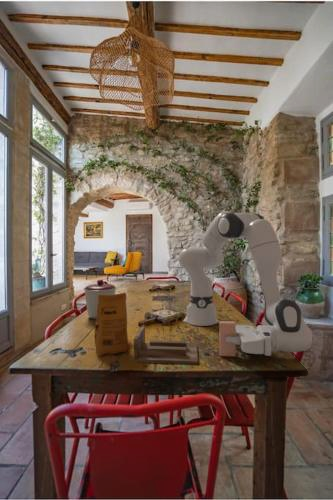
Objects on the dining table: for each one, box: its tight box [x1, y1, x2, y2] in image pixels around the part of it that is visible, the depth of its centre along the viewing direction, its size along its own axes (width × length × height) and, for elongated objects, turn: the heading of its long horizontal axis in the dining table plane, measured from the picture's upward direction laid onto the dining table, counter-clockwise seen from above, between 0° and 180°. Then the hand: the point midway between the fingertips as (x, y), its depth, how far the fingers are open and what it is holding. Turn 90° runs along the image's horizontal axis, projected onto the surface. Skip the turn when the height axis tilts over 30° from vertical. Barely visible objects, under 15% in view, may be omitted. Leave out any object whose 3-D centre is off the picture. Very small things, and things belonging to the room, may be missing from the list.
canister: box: [83, 279, 117, 320], centre depth 156 cm, size 18×18×21 cm
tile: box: [218, 320, 237, 358], centre depth 102 cm, size 2×6×12 cm, turn 85°
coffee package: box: [94, 292, 129, 356], centre depth 107 cm, size 10×12×22 cm
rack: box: [133, 325, 199, 365], centre depth 103 cm, size 16×22×8 cm
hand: (224, 336), depth 102 cm, fingers closed on tile, 2 cm apart
